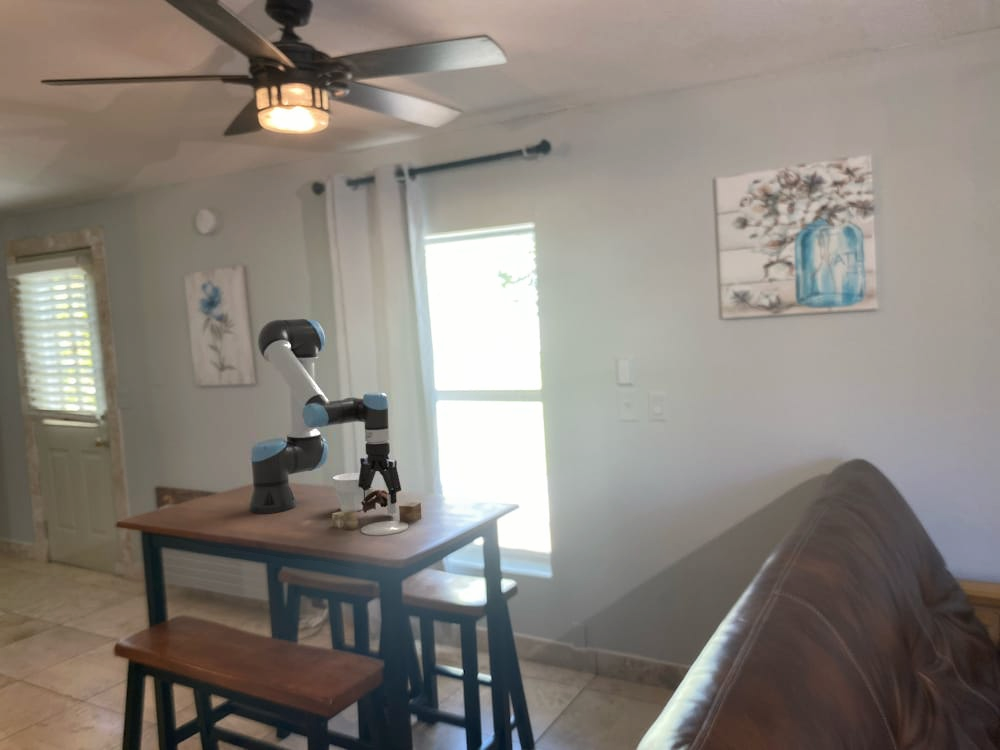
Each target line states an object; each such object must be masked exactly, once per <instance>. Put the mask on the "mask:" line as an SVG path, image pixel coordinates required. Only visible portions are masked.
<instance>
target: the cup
mask: <svg viewBox="0 0 1000 750" xmlns="http://www.w3.org/2000/svg"><path fill="white" fill-rule="evenodd" d="M359 476H360V472H348V473H341V474H338V475H335V476H333V477H332V481H333V487H334V491H335V492H336V494H337V499H338V502H339V506H340V507H339V508H340V511H345V510H355V511H357V512H359V511H363V505H362V504H361V502H362V501H364V500H363V499H364V490H363V489H362V488H361V487H359V486H358V483H359ZM362 483H363V482H362ZM364 502H365V501H364Z"/></svg>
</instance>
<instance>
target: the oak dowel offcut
mask: <svg viewBox="0 0 1000 750" xmlns="http://www.w3.org/2000/svg"><path fill="white" fill-rule="evenodd" d="M358 515H359V514H358V511H355V510H351V511H346V512H344V523H345V527H344V530H345V531H355V530H358V529H359V516H358ZM357 528H358V529H357ZM354 529H355V530H354Z"/></svg>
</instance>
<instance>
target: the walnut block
mask: <svg viewBox="0 0 1000 750" xmlns="http://www.w3.org/2000/svg"><path fill="white" fill-rule="evenodd" d="M421 504H422V503H421V502H416V501H415V502H413V501H406V502H404V503H402V504H400V505H398V512H399V522H404V523H415V522H417V521H419V520H421V519H422V505H421Z"/></svg>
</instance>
